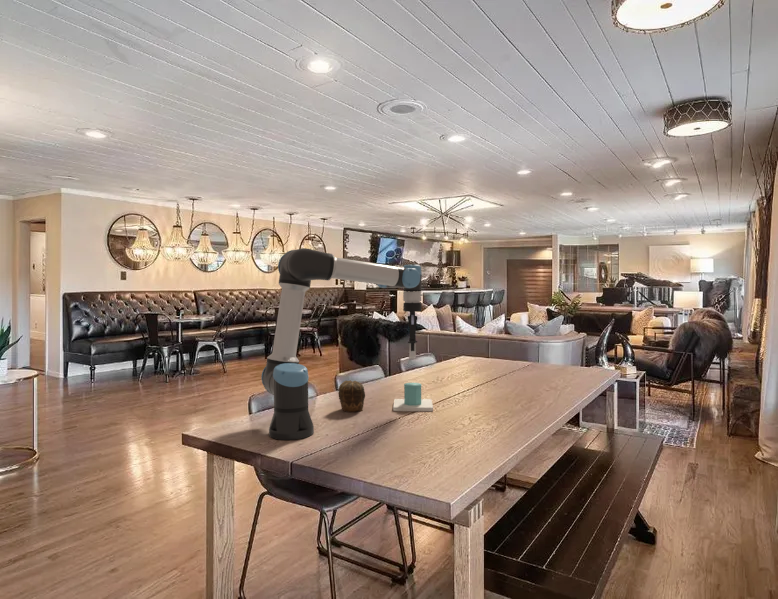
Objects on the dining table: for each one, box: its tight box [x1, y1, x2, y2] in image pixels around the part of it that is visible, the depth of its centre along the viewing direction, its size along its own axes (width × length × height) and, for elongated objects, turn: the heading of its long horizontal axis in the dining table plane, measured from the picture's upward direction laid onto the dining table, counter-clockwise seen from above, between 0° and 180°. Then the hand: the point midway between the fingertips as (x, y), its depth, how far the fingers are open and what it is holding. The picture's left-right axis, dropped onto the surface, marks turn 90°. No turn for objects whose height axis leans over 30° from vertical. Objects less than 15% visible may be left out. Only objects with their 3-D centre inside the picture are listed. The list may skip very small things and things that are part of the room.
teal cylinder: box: [403, 382, 422, 405], centre depth 210 cm, size 7×7×8 cm
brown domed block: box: [338, 380, 366, 413], centre depth 206 cm, size 11×11×12 cm
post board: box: [392, 398, 434, 412], centre depth 211 cm, size 15×16×6 cm
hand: (412, 358), depth 210 cm, fingers closed
